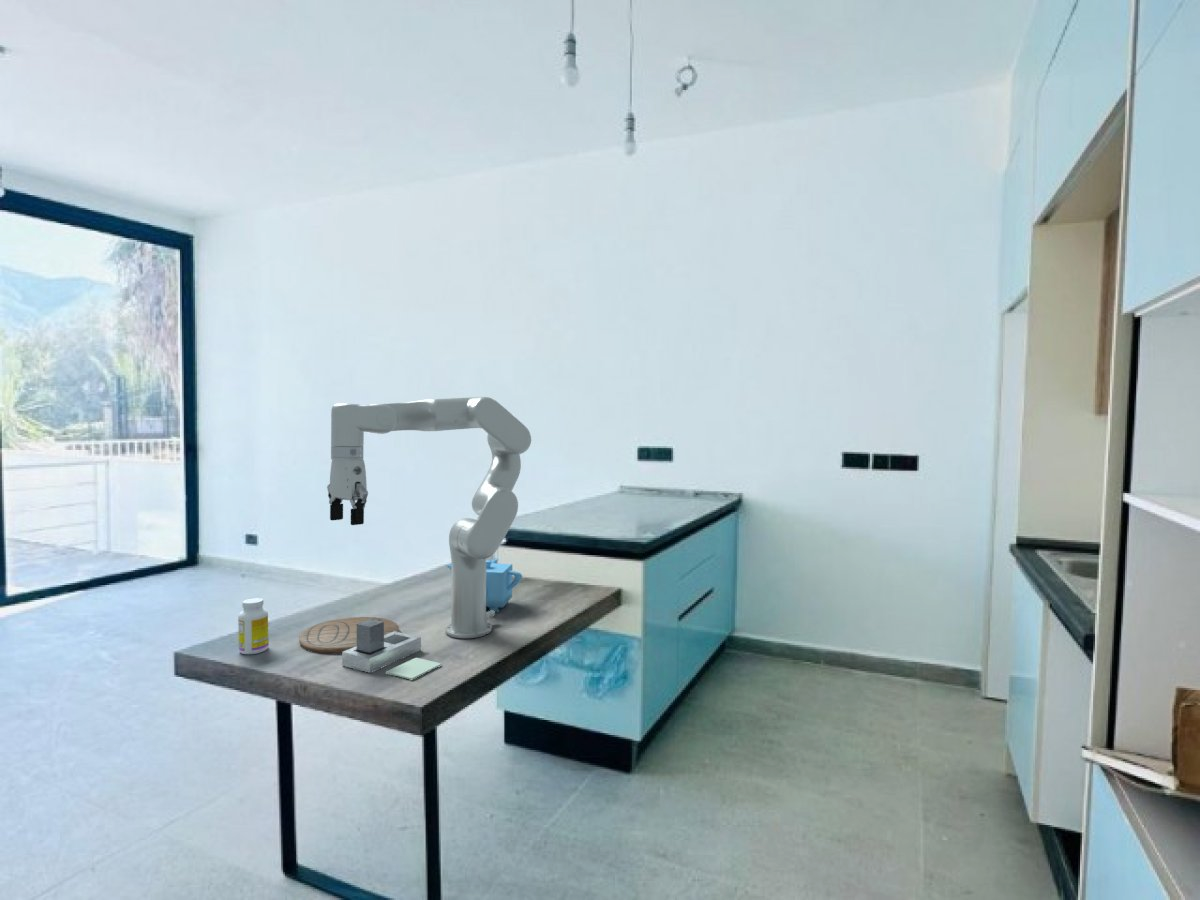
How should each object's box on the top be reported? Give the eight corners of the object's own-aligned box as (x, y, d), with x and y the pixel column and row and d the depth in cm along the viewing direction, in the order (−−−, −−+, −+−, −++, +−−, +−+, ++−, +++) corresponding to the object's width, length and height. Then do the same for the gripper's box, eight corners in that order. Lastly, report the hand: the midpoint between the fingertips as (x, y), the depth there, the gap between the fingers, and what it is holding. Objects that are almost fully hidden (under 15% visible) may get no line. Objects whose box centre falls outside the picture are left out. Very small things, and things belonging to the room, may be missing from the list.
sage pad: (416, 659, 160) (416, 657, 160) (441, 666, 156) (441, 663, 156) (385, 674, 151) (385, 671, 151) (411, 680, 147) (411, 678, 147)
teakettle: (526, 608, 203) (526, 562, 203) (472, 619, 191) (473, 570, 191) (495, 595, 218) (495, 551, 217) (443, 604, 206) (444, 559, 205)
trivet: (395, 619, 192) (395, 613, 191) (401, 648, 168) (401, 641, 168) (302, 628, 182) (302, 622, 182) (295, 660, 159) (295, 652, 159)
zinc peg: (370, 658, 160) (370, 618, 159) (384, 662, 158) (383, 621, 157) (356, 664, 156) (356, 624, 155) (370, 668, 154) (369, 626, 153)
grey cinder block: (394, 644, 170) (394, 631, 170) (420, 650, 166) (420, 636, 166) (342, 666, 155) (342, 651, 155) (369, 673, 151) (369, 658, 151)
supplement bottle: (273, 645, 168) (272, 596, 167) (260, 655, 161) (260, 604, 160) (247, 645, 167) (246, 596, 167) (233, 655, 161) (232, 604, 160)
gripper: (380, 455, 158) (379, 524, 159) (343, 451, 169) (342, 516, 170) (351, 455, 152) (351, 528, 153) (315, 452, 163) (314, 519, 164)
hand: (346, 522), depth 161 cm, fingers open, 9 cm apart
